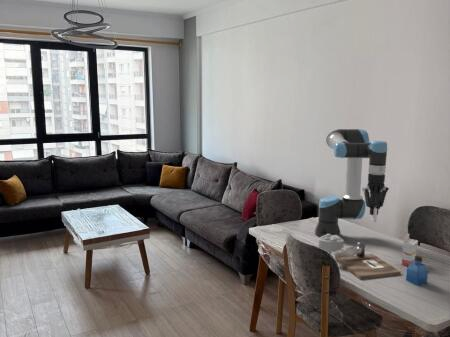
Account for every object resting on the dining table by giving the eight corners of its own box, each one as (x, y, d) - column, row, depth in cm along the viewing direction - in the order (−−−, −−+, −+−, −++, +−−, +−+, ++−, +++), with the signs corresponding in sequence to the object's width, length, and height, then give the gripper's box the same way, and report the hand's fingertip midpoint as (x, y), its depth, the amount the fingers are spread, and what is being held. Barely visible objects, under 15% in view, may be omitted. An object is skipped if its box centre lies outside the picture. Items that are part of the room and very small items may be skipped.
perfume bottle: (416, 285, 185) (419, 260, 182) (405, 280, 190) (408, 255, 188) (426, 283, 187) (429, 258, 185) (415, 278, 193) (417, 253, 190)
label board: (334, 260, 213) (334, 256, 212) (372, 256, 218) (372, 252, 218) (359, 279, 191) (359, 275, 190) (400, 274, 196) (400, 270, 196)
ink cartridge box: (411, 267, 205) (414, 239, 202) (401, 264, 208) (403, 236, 205) (416, 262, 211) (418, 234, 209) (406, 259, 214) (408, 232, 212)
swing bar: (360, 253, 217) (361, 240, 216) (366, 255, 214) (367, 243, 212) (329, 260, 207) (330, 247, 206) (335, 263, 204) (336, 250, 203)
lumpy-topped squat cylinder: (345, 254, 221) (345, 238, 220) (321, 255, 220) (322, 239, 218) (337, 247, 232) (338, 232, 230) (315, 248, 230) (315, 233, 228)
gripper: (368, 175, 191) (365, 224, 195) (393, 174, 194) (389, 222, 198) (360, 172, 198) (357, 219, 202) (384, 171, 201) (380, 217, 205)
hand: (373, 221), depth 200 cm, fingers closed
